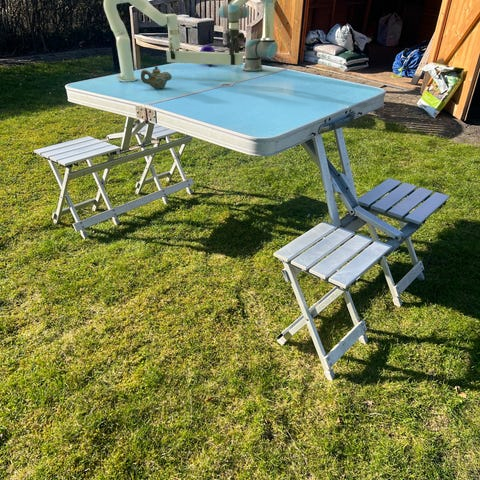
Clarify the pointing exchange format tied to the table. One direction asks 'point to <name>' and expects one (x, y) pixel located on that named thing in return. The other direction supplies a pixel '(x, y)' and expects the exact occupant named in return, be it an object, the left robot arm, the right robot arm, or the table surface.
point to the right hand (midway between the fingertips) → (234, 63)
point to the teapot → (155, 78)
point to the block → (205, 57)
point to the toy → (208, 49)
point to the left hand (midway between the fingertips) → (175, 58)
